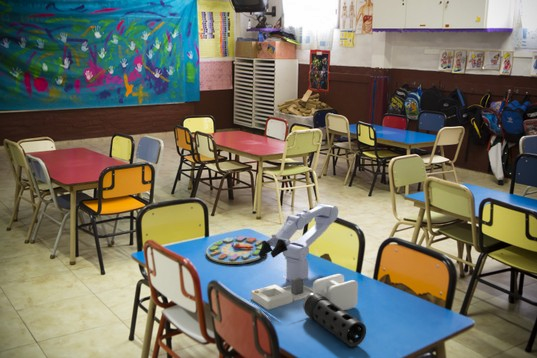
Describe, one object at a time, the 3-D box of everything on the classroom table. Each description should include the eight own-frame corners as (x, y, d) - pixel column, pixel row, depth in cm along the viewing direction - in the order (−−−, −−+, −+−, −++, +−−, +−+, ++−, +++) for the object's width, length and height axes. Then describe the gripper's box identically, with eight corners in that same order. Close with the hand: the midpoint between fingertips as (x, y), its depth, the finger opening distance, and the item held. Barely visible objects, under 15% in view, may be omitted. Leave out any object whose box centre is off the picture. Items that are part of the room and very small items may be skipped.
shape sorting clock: (193, 257, 285) (193, 245, 284) (232, 240, 310) (231, 229, 308) (243, 271, 268) (243, 258, 267) (279, 251, 293) (279, 240, 291)
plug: (298, 290, 245) (299, 277, 243) (303, 292, 242) (303, 279, 241) (291, 292, 243) (291, 279, 241) (295, 295, 240) (295, 281, 239)
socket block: (275, 293, 244) (275, 282, 242) (292, 303, 234) (292, 292, 233) (251, 300, 237) (251, 289, 236) (267, 311, 227) (267, 300, 226)
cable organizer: (328, 316, 223) (328, 288, 220) (311, 306, 231) (311, 279, 228) (357, 307, 231) (358, 280, 228) (340, 297, 239) (341, 271, 236)
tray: (299, 286, 250) (299, 282, 250) (316, 295, 241) (316, 291, 241) (278, 292, 244) (278, 288, 244) (294, 302, 235) (294, 298, 235)
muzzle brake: (344, 352, 197) (345, 324, 195) (300, 319, 221) (301, 294, 218) (366, 345, 201) (367, 318, 199) (321, 313, 225) (322, 289, 223)
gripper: (268, 228, 252) (249, 248, 243) (291, 226, 241) (273, 247, 233) (275, 241, 254) (258, 261, 246) (299, 240, 243) (281, 261, 235)
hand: (265, 255), depth 239 cm, fingers open, 7 cm apart
